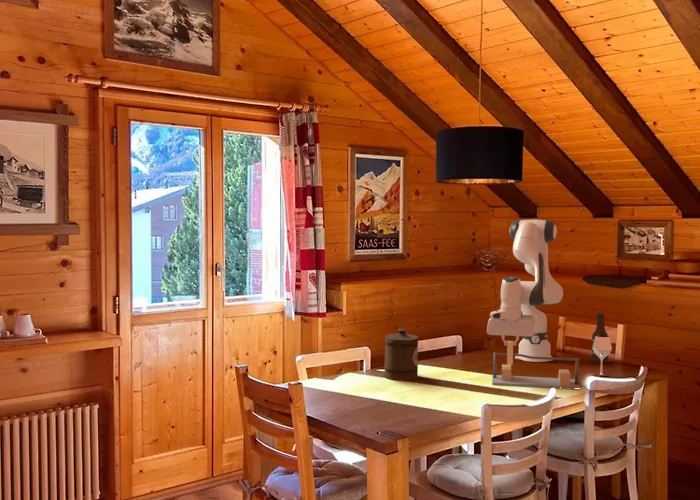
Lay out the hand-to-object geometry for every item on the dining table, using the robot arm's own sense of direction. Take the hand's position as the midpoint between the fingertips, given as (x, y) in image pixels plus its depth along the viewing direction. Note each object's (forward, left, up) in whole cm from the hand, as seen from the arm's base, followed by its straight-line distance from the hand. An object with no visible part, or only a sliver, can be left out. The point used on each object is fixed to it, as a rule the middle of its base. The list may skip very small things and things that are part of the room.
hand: (510, 345), depth 310 cm
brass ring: (0, 0, -8) cm, 8 cm away
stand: (+2, +11, -16) cm, 19 cm away
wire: (+2, +11, -4) cm, 12 cm away
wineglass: (-19, +41, -16) cm, 47 cm away
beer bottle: (-48, +44, -16) cm, 67 cm away
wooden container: (+3, -47, -16) cm, 50 cm away
